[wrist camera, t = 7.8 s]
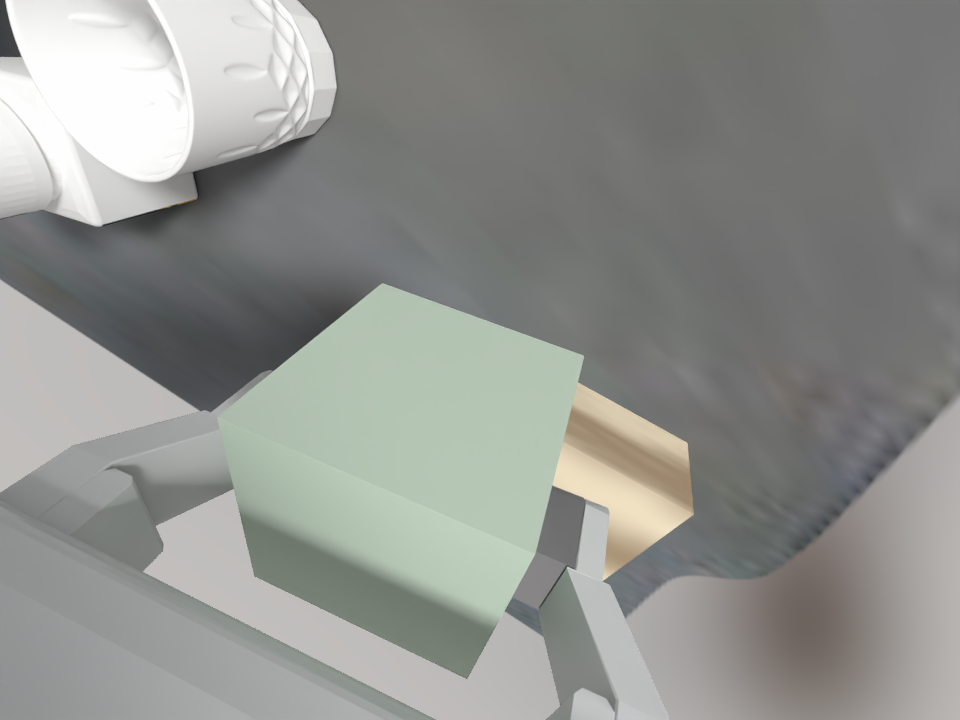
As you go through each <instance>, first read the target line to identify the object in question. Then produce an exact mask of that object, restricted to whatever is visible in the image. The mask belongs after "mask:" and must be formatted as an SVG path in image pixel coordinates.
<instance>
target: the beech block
mask: <svg viewBox="0 0 960 720" xmlns="http://www.w3.org/2000/svg"><path fill="white" fill-rule="evenodd" d="M552 486H555V487H558V488H560V489H563V490H565V491H568V492H570V493H573V494H575V495H578V496H580V497H583V498H584V499H587V500H589V501H592V502H594V503H597V504H599V505H602V506H604V507H607V508H608V509H609V513H610V515H609V525H608V535H607V545H606V555H605V565H604V575H603V580H605V579H606V578H607V577H609V576H610V575H611V574H613V573H614V572H616V571H617V570H618V569H620V568H621V567H622V566H624V565H625V564H626V563H628V562H629V561H631V560H632V559H633V558H635V557H636V556H637V555H639V554H640V553H642V552H643V551H644V550H646V549H647V548H648V547H650V546H651V545H652V544H654V543H655V542H657V541H658V540H659V539H661V538H662V537H663V536H665V535H666V534H668V533H669V532H670V531H672V530H673V529H674V528H676V527H677V526H678V525H680V524H681V523H683V522H684V521H685V520H687V519H688V518H689V517H691V516H692V515H693V514H694V512H693V501H692V489H691V478H690V467H689V456H688V444H687V443H686V442H685V441H683V440H681V439H679V438H677V437H676V436H674V435H672V434H670V433H668V432H667V431H665V430H663V429H661V428H659V427H658V426H656V425H654V424H652V423H650V422H648V421H647V420H645V419H643V418H641V417H639V416H638V415H636V414H634V413H632V412H630V411H629V410H627V409H625V408H623V407H621V406H620V405H618V404H616V403H614V402H612V401H610V400H609V399H607V398H605V397H603V396H601V395H600V394H598V393H596V392H594V391H592V390H591V389H589V388H587V387H585V386H583V385H582V384H580V383H577V387H576V391H575V395H574V399H573V403H572V407H571V412H570V416H569V420H568V424H567V428H566V432H565V436H564V440H563V444H562V448H561V452H560V456H559V460H558V464H557V468H556V472H555V476H554V480H553V485H552Z"/></svg>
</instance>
